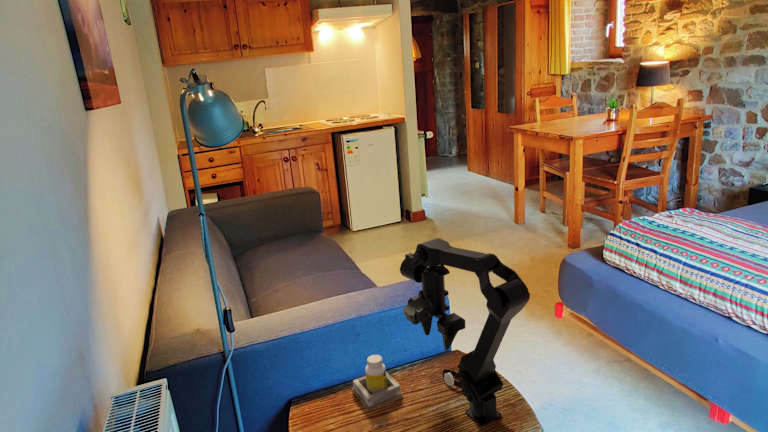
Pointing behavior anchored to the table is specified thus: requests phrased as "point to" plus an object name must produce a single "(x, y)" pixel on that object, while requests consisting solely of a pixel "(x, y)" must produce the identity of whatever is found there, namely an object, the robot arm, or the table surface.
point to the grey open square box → (376, 393)
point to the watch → (450, 377)
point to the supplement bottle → (375, 374)
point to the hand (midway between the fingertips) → (436, 342)
